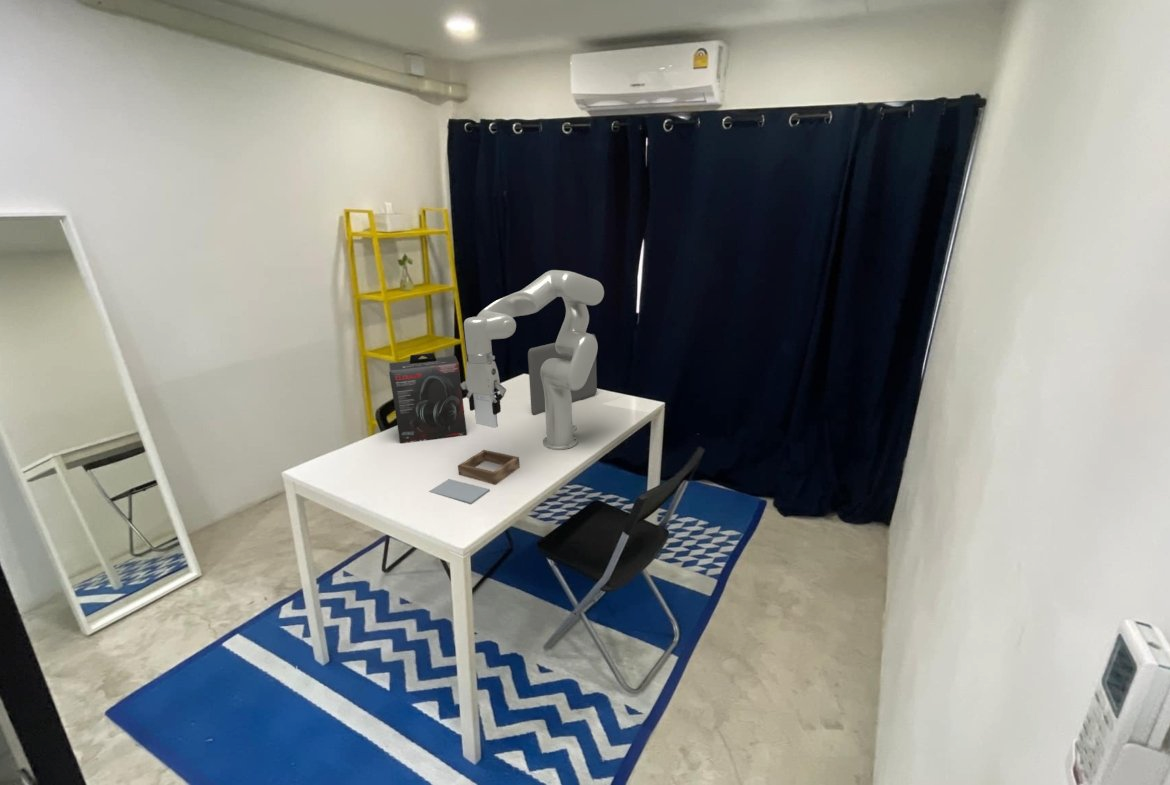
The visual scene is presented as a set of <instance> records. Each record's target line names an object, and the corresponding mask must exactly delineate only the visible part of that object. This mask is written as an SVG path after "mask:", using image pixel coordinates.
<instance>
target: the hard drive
mask: <svg viewBox="0 0 1170 785" xmlns="http://www.w3.org/2000/svg"><path fill="white" fill-rule="evenodd" d="M493 392H494V391H493ZM494 396H495V394H494ZM495 397H496V396H495ZM473 399H474V408H475V410H474V416H475V424H476V425H480V426H485V427H489V428H495V429H496V428H498V427H499V426H498V416H497V415H498V414H496V415H494V414H493V409H492V403H493V400H492V399H491V397H490V395H482V394H476V393H473Z"/></svg>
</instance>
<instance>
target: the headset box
mask: <svg viewBox="0 0 1170 785" xmlns="http://www.w3.org/2000/svg"><path fill="white" fill-rule="evenodd" d="M422 356H423V358H421V357H422ZM388 373H389V374H388V375H389V381H390V386H391V393H392V398H393V399H392V400H393V406H394V412H395V417H396V418H395V419H396V423H397V424H396V425H397V432H398V438H399V443H400V444H409V443H417V442H418V443H419V442H425V441H432V440H433V441H435V440H441V439H449V438H457V437H463V436H467V435H468V431H467V425H466V415H465V407H464V399H463V393H462V392H463V389H462V387H461V385H460V384H461V383H462V382H461V373H460V363H459V361H458V359H457V357H456V355H449V356H440V357H436V355H435V353H434V352H427V353H418V354H410V357H409V360H405V361H397V362H396V361H395V362H389V363H388Z"/></svg>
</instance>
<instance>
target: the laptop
mask: <svg viewBox="0 0 1170 785" xmlns="http://www.w3.org/2000/svg"><path fill="white" fill-rule="evenodd" d="M590 334H591V335H593V336H594V337H595V338H596V339H597V337H596V335H595V334H594V333H590ZM555 344H556V342H553V343H552V342H551V343H548V344H545V345H544V344H543V345H539V346H535V347H531V348H529V350H528V352H527V362H528V363H527V364H528V379H529V393H530V394H529V395H530V409H531V410H530V411H531V414H532V415H539V414H541V413H545V395H544V388H543V383H542V379H541V373H540V372H541V366H542V364H543V363H544V362H545V361H546V360H548V359H550V358H559V359H563V360H567V361H571V360H572V358H569V357H565V356H562V355H560V354H559V353H557V351H556V349H555ZM597 377H598V376H597V357H596V358H595V360H594V363H593V365H592V368H591V371H590V373H589V376H588V378H587V381H586V383H585V384H584V386H583V387H582V388H581V389H579V390H576V391H573V390H570V392H571V398H572V403H575V402H579V401H581V400H584V399H587V398H590V397H593V396H595V395H596V394H597V392H598V387H597V386H598V378H597Z"/></svg>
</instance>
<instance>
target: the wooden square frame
mask: <svg viewBox="0 0 1170 785" xmlns="http://www.w3.org/2000/svg"><path fill="white" fill-rule="evenodd" d="M484 462H489V463H493V464H497V465H500V466H499V467H498V468H497V469H495V470H494V471H493V470H487V469H484V468H479V467H478V466H479V465H481V464H482V463H484ZM520 467H521V464H520V457H519V456H514V455H511V454H505V453H500V452H495V451H491V450H487V449H482V450H481V451H480V452H478V453H476V454H475V455H473V456H471V457H469V458H468V459H467V460H464V461H462V462H461V463H459V464H458V465H457V469H458V475H459V476H462V477H466V478H469V479H473V480H476V481H479V482H483V483H487V484H491V485H493V486H496V485H497V484H499V483H500V482H501V481H503V480H504V479H505V478H507V477H509V476H510V475H511V474H513V473H515V472H516V471H517V470H518V469H520Z"/></svg>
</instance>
